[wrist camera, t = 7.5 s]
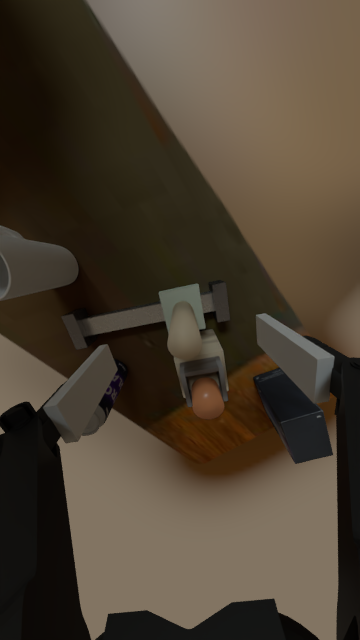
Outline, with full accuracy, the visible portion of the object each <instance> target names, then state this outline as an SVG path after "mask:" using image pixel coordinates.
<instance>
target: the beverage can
mask: <svg viewBox="0 0 360 640" xmlns="http://www.w3.org/2000/svg"><path fill="white" fill-rule="evenodd" d="M114 361H115V364H116V366H117V369H118V370H117V372H116V373H115V375H114V377H113V379H112V381H111V383H110V384H109V386H108V388H107V390H106V392H105V393H104V395H103V397H102V399H101V401H100V403H99V404H98V406H97V408H96V410H95V412H94V413H93V415H92V417H91V419H90V421H89V422H88V424H87V426H86V428H85V430H84V432H83V433H82V435H83V436H86V435H91V434H94V433H95V432H96V431H97V430H98V429H99V427H100V426H102V425H103V424H104V423H105V421H106V419H107V417H108V415H109V413H110V410H111V409H112V406H113V404H114V402H115V400H116V398H117V396H118V394H119V392H120V389H121V387H122V385H123V383H124V381H125V379H126V377H127V368H126V366H125V365H124V364H123V363H122V362H120V361H119V360H116V359H114Z"/></svg>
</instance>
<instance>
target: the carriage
mask: <svg viewBox="0 0 360 640" xmlns="http://www.w3.org/2000/svg"><path fill="white" fill-rule="evenodd" d="M159 297H160V301H161V305H162V309H163V313H164V317H165V321H166V325H167V329H168V333H169V336H168V342H167V346H168V350H169V351H170V353H171V354H172V355H173V356H174V357H176V358H178V359H183V360H186V359H191V358H193V357H195V356H196V355H198V354H199V352H200V351H201V348H202V339H201V335H200V332H199V330H200V329H205V328H206V327H205V321H204V315H203V309H202V303H201V297H200V291H199V285H198V284H193V285H188V286H183V287H178V288H174V289H169V290H164V291H160V292H159Z"/></svg>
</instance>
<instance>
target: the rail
mask: <svg viewBox="0 0 360 640" xmlns="http://www.w3.org/2000/svg"><path fill="white" fill-rule="evenodd" d="M208 283H209V290H210V291H208V292H203V293H200V297H201V303H202V309H203V313H207V312H212V311H213V316H214V318H215V319H216V321H217V322H222V321H228V320H230V315H229V306H228V298H227V289H226V282H224V281H222V280H218V281H213V282H208ZM61 317H62V319H63V322H64V324H65V326H66V328H67V330H68V332H69V335H70V337H71V339H72V341H73V343H74V345H75V348H76V350H77V349H82V348H87V347H89V346H90V345H91V344H92V343H93V342H94V341H95V340H96V339H97V336H96V334H100V333H105V332H110V331H115V330H120V329H125V328H131V327H136V326H141V325H146V324H151V323H156V322H161V321H165V317H164V313H163V309H162V305H161V301H159V302H155V303H150V304H145V305H140V306H135V307H130V308H125V309H121V310H116V311H111V312H106V313H101V314H96V315H91V316H88V314H87V312H86V309H85V308H84V309H79V310H74V311H72V312H70V313H68V314H65V315H63V316H61Z"/></svg>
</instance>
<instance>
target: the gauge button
mask: <svg viewBox="0 0 360 640" xmlns="http://www.w3.org/2000/svg"><path fill="white" fill-rule="evenodd" d="M191 392H192V404H193V411H194V413H195V414H196V415H197V416H198V417H200V418H202V419H213V418H216V417H218V416H219V415H221V414H222V412H223V410H224V402H223V399H222V396H221V393H220V389H219V386H218V384H217V382H216V381H215V380H214V379H212V378H208V377H204V378H200V379H197V380H196V381H195V382H194V383H193V384H192V387H191Z"/></svg>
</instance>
